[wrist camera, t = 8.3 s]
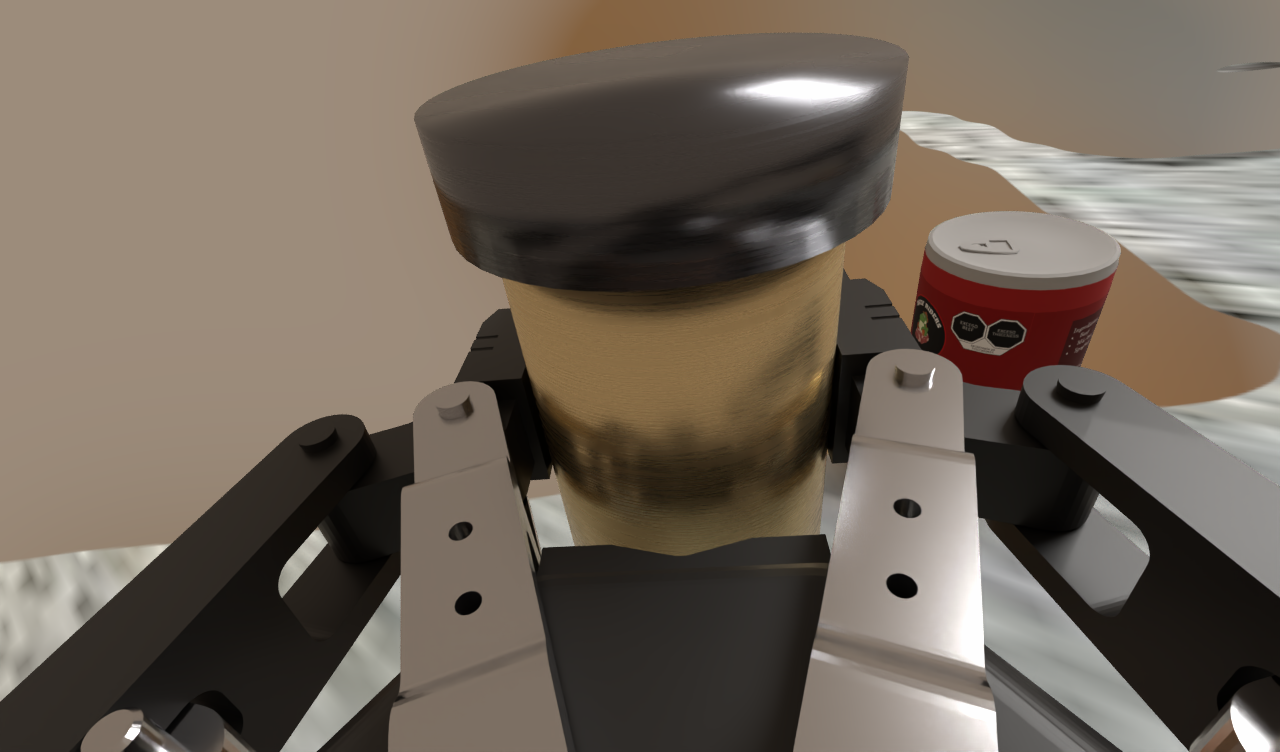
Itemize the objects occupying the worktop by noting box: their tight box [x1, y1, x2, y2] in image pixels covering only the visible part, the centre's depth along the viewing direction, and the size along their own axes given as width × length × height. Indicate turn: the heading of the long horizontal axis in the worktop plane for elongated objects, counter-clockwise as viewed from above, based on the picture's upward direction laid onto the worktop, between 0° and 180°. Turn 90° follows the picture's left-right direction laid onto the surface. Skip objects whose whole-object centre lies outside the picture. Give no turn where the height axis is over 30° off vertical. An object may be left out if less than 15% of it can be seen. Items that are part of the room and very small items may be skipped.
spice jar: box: [414, 33, 909, 556], centre depth 11 cm, size 6×6×12 cm
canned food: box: [911, 211, 1121, 391], centre depth 32 cm, size 8×8×11 cm
